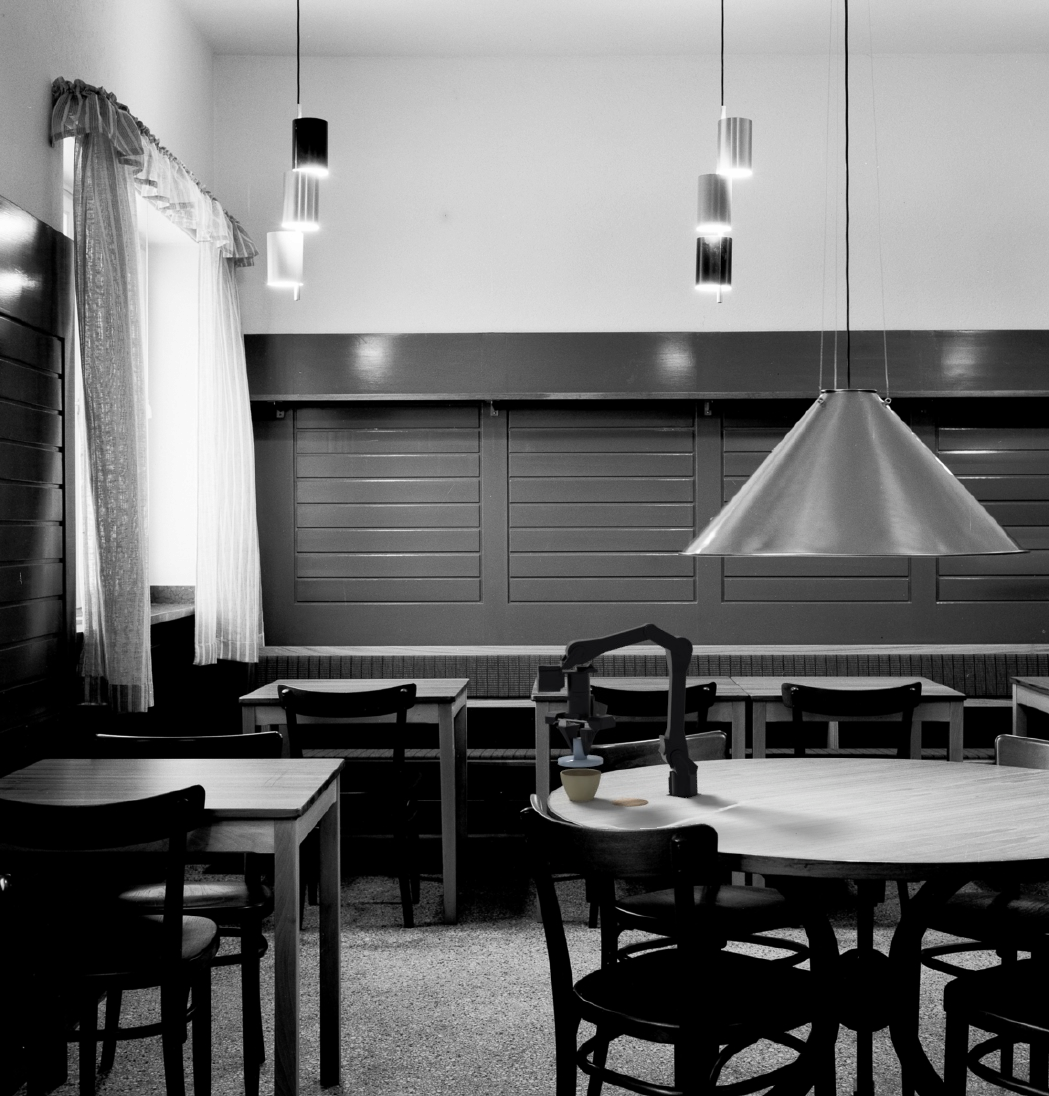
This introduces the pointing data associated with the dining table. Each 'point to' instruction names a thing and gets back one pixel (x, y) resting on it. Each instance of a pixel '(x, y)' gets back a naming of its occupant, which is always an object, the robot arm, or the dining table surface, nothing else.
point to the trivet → (629, 802)
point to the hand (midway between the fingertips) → (580, 754)
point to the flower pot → (580, 783)
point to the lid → (579, 757)
